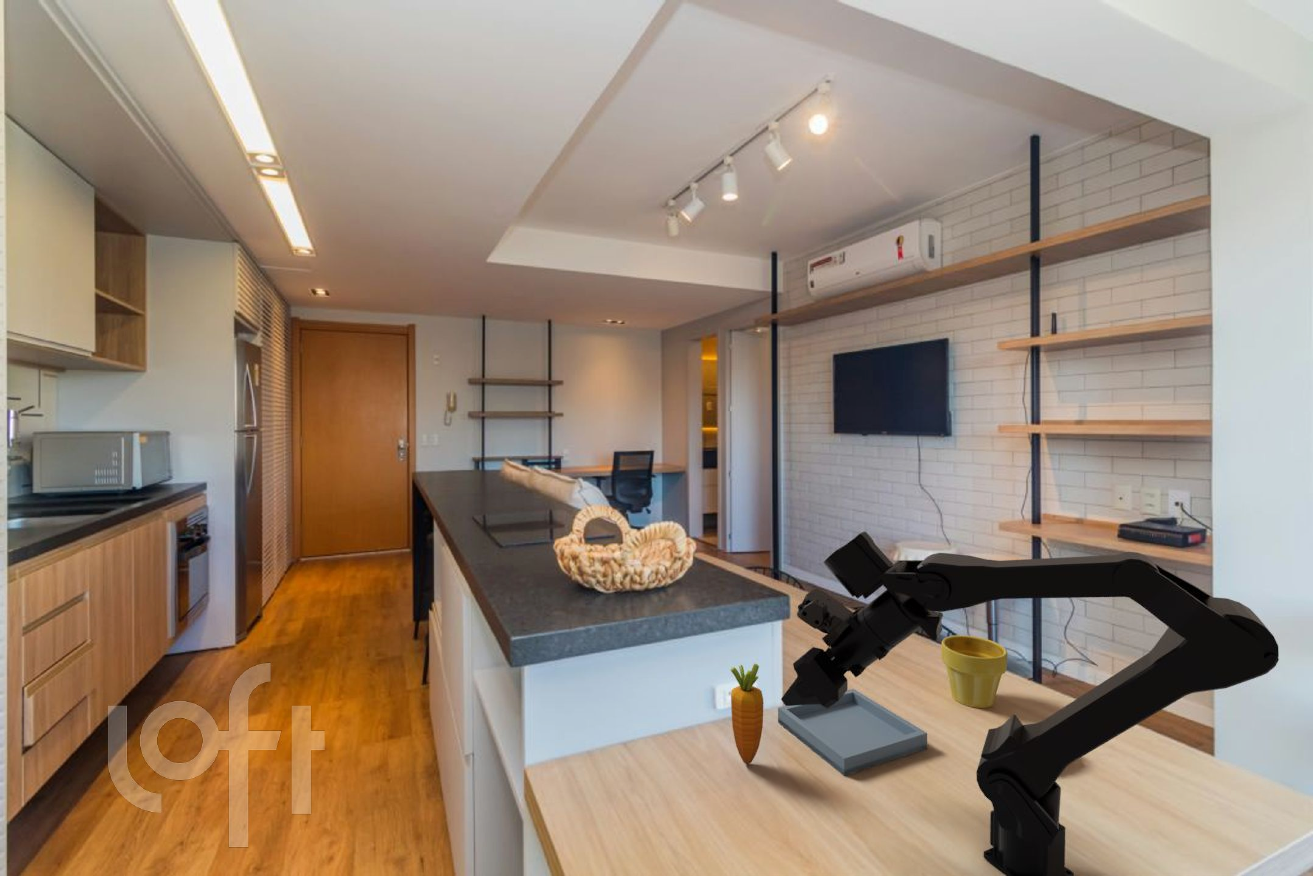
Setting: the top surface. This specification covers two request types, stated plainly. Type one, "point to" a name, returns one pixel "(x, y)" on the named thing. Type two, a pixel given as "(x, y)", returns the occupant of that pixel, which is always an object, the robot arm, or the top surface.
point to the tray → (853, 732)
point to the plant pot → (973, 668)
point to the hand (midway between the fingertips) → (797, 688)
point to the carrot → (747, 713)
